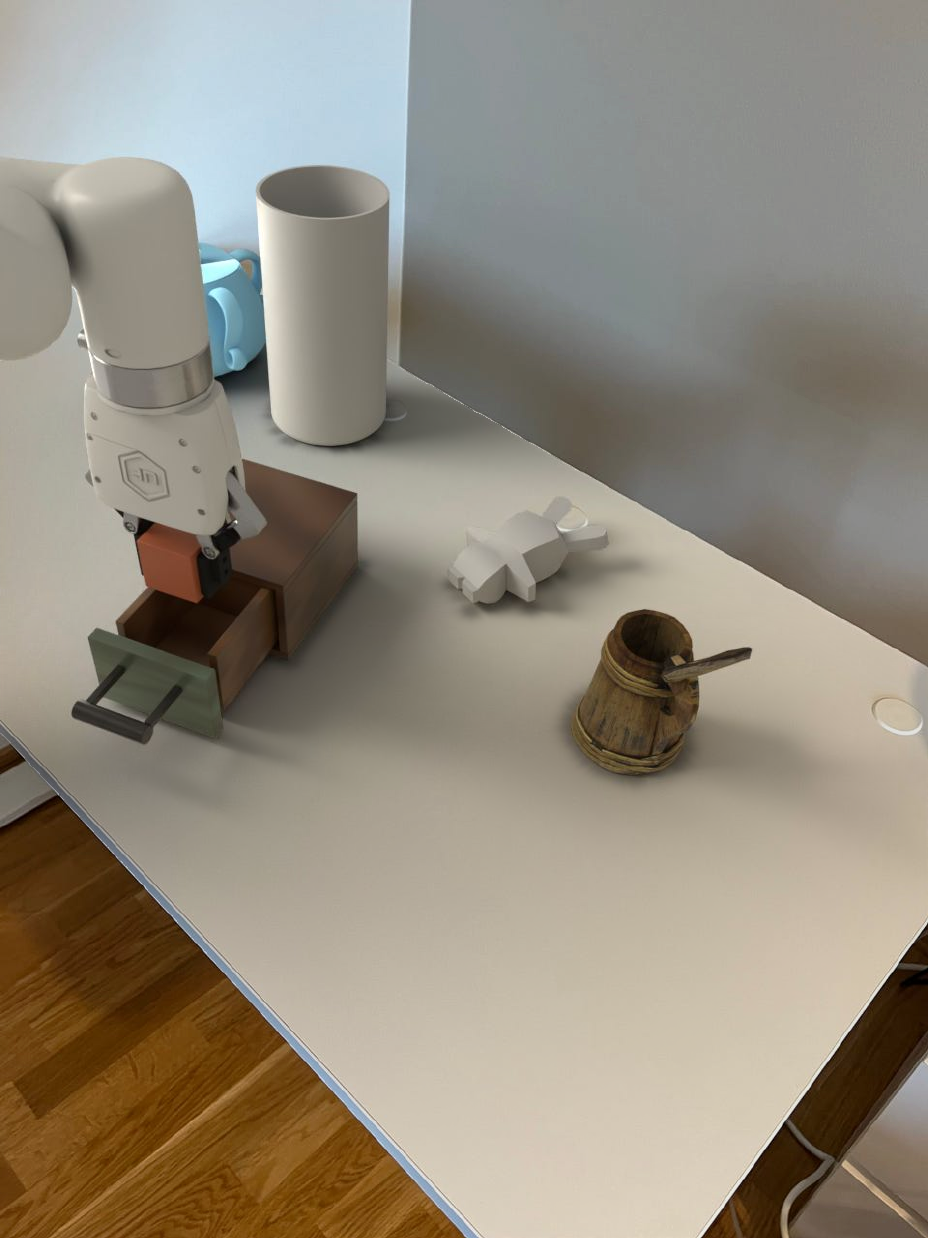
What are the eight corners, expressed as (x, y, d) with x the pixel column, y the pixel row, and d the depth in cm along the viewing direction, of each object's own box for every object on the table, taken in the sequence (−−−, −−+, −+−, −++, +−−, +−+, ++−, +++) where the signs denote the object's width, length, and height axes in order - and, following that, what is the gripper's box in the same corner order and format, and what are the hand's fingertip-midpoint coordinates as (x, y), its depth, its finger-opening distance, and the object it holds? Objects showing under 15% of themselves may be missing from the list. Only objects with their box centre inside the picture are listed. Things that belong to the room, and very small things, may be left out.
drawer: (176, 791, 79) (164, 732, 75) (58, 746, 82) (39, 685, 77) (292, 636, 92) (288, 577, 87) (187, 601, 94) (178, 541, 89)
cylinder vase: (249, 409, 118) (229, 182, 101) (340, 374, 124) (336, 155, 107) (316, 463, 112) (307, 230, 94) (408, 423, 118) (416, 199, 101)
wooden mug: (626, 834, 80) (674, 670, 68) (554, 705, 89) (585, 539, 77) (728, 805, 83) (793, 642, 70) (649, 682, 92) (694, 518, 79)
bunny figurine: (428, 538, 98) (555, 471, 103) (431, 577, 101) (553, 511, 107) (491, 597, 92) (621, 524, 98) (492, 636, 96) (617, 563, 102)
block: (145, 586, 81) (136, 540, 78) (178, 551, 84) (170, 506, 81) (197, 603, 80) (190, 558, 77) (228, 568, 83) (223, 522, 80)
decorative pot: (243, 405, 119) (233, 291, 109) (104, 384, 120) (82, 269, 110) (285, 334, 130) (279, 226, 121) (158, 315, 131) (142, 206, 122)
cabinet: (288, 660, 91) (283, 586, 85) (170, 620, 94) (157, 544, 88) (358, 566, 100) (357, 492, 94) (249, 531, 103) (242, 458, 97)
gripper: (6, 360, 68) (63, 573, 81) (238, 427, 64) (260, 640, 77) (78, 309, 73) (121, 517, 86) (297, 369, 70) (308, 578, 82)
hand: (186, 573), depth 81 cm, fingers closed on block, 4 cm apart
